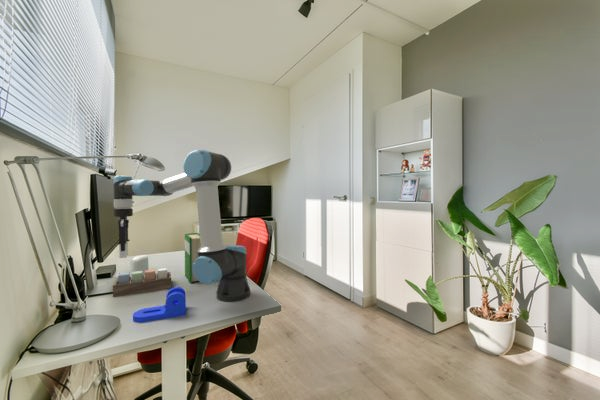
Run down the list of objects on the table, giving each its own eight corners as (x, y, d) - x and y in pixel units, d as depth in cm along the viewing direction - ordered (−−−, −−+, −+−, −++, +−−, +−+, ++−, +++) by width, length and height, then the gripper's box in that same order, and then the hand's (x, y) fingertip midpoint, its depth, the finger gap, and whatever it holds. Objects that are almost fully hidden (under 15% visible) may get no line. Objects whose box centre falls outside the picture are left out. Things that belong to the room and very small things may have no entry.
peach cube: (155, 279, 132) (154, 271, 132) (145, 280, 130) (145, 272, 130) (155, 277, 136) (155, 269, 136) (145, 278, 134) (145, 270, 134)
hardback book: (204, 281, 143) (204, 236, 143) (189, 283, 139) (189, 237, 139) (198, 273, 158) (198, 232, 158) (184, 275, 154) (184, 233, 154)
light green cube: (142, 281, 130) (142, 272, 130) (132, 282, 128) (132, 274, 128) (142, 278, 134) (142, 270, 134) (132, 279, 132) (132, 271, 132)
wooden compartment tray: (171, 288, 132) (171, 278, 132) (112, 296, 121) (112, 285, 121) (170, 281, 143) (170, 271, 143) (116, 288, 132) (116, 278, 132)
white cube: (167, 277, 135) (167, 269, 135) (158, 279, 133) (157, 271, 133) (167, 275, 139) (167, 267, 139) (158, 276, 137) (158, 269, 137)
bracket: (185, 307, 110) (185, 285, 110) (185, 315, 102) (185, 292, 102) (134, 315, 103) (134, 292, 103) (131, 324, 95) (130, 299, 95)
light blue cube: (128, 282, 127) (128, 274, 127) (118, 284, 125) (118, 275, 125) (129, 280, 131) (129, 272, 131) (119, 281, 129) (119, 273, 129)
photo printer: (136, 280, 144) (136, 258, 144) (129, 280, 144) (129, 257, 144) (149, 275, 154) (149, 253, 154) (143, 274, 155) (142, 253, 154)
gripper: (130, 208, 121) (131, 259, 122) (134, 207, 138) (134, 252, 138) (110, 209, 118) (111, 261, 118) (116, 207, 134) (117, 253, 134)
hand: (123, 256), depth 128 cm, fingers open, 5 cm apart
